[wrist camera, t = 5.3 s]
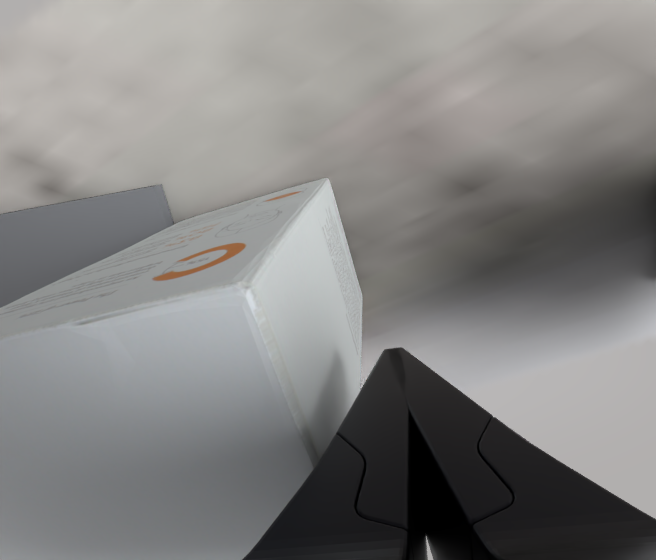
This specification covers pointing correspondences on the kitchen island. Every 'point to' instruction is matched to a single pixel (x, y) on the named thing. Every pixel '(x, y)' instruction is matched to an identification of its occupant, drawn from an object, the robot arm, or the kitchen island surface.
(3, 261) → the mat
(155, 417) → the small box
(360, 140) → the kitchen island surface
